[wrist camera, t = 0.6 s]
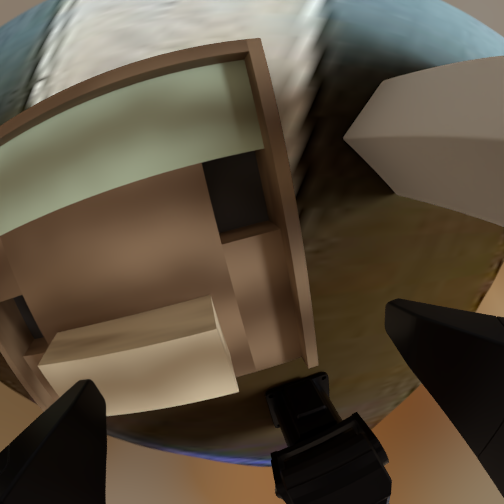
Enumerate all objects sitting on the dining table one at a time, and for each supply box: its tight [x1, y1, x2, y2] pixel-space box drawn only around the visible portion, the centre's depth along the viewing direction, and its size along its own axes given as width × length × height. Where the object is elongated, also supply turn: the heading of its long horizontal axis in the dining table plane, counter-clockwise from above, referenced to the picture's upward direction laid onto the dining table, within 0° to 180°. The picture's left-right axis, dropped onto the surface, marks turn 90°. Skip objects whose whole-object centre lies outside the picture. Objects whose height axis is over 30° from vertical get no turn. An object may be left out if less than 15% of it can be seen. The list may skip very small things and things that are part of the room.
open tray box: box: [0, 38, 318, 412], centre depth 17 cm, size 22×24×4 cm
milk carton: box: [343, 56, 504, 227], centre depth 12 cm, size 7×7×19 cm
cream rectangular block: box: [38, 295, 239, 416], centre depth 16 cm, size 5×12×4 cm, turn 102°
